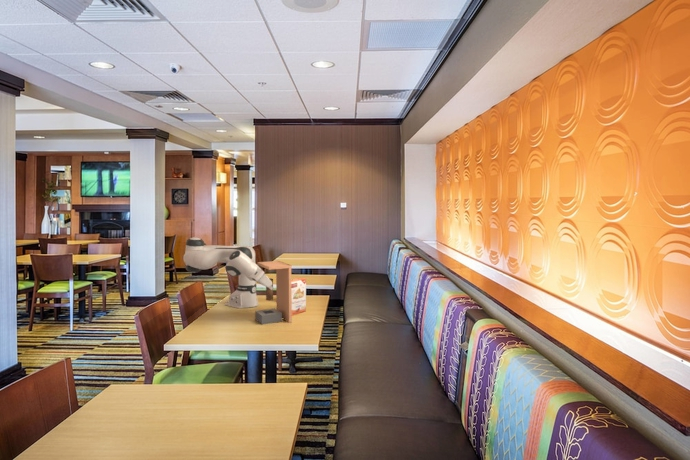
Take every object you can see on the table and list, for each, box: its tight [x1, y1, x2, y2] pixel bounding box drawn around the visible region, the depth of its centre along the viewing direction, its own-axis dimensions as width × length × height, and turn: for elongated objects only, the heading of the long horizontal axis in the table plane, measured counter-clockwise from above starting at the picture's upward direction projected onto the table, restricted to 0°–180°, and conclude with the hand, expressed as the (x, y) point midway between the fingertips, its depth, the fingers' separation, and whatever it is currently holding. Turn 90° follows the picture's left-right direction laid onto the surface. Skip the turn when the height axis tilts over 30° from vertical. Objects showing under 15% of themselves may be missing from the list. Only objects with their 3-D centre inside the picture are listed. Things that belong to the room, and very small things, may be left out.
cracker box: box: [291, 277, 307, 316], centre depth 259 cm, size 14×6×21 cm, turn 143°
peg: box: [265, 277, 274, 301], centre depth 242 cm, size 4×4×12 cm
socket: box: [254, 308, 283, 325], centre depth 243 cm, size 12×12×5 cm
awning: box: [256, 260, 293, 324], centre depth 244 cm, size 13×20×33 cm, turn 30°
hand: (270, 288), depth 242 cm, fingers closed on peg, 4 cm apart
